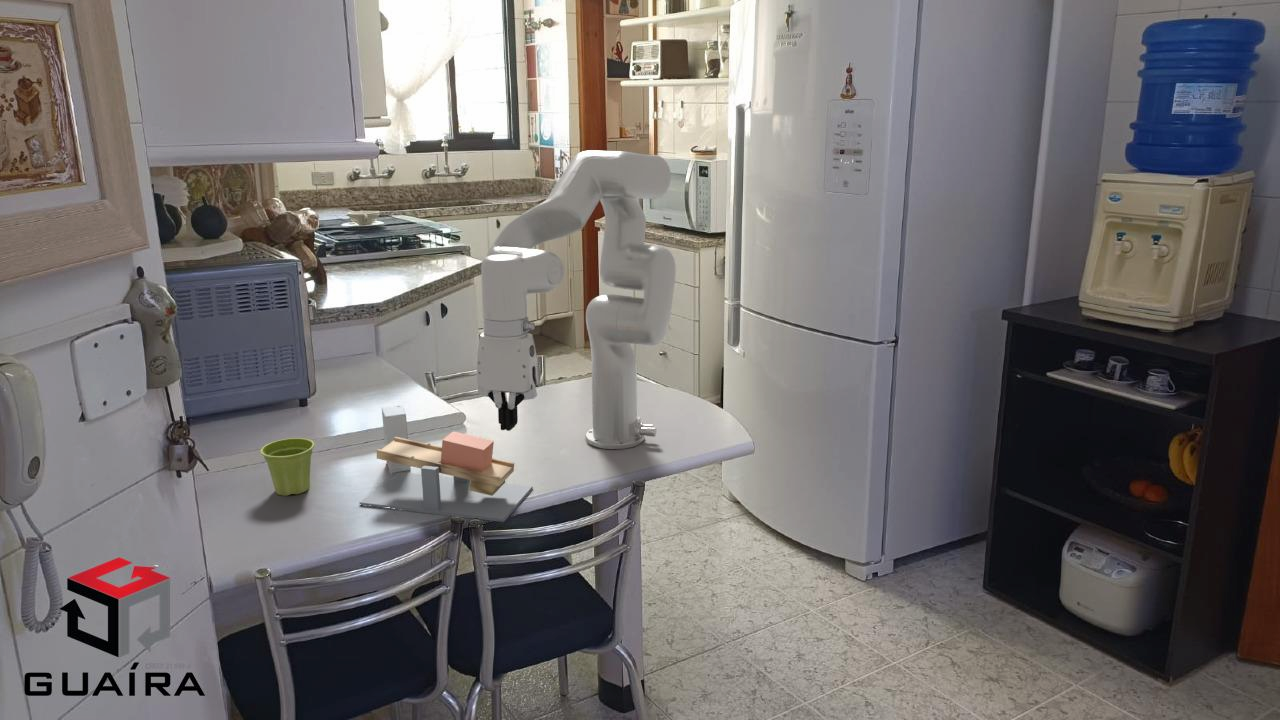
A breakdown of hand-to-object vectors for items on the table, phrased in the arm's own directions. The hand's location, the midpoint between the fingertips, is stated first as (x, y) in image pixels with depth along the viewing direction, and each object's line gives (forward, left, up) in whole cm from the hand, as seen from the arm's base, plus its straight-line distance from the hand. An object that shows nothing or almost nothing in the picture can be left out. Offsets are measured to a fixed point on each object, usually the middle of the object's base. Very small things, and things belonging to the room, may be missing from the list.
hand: (508, 427), depth 166 cm
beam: (+13, -1, -11) cm, 17 cm away
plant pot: (+43, +3, -15) cm, 46 cm away
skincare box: (+29, -12, -15) cm, 35 cm away
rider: (+9, -1, -8) cm, 12 cm away
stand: (+13, -1, -15) cm, 20 cm away
